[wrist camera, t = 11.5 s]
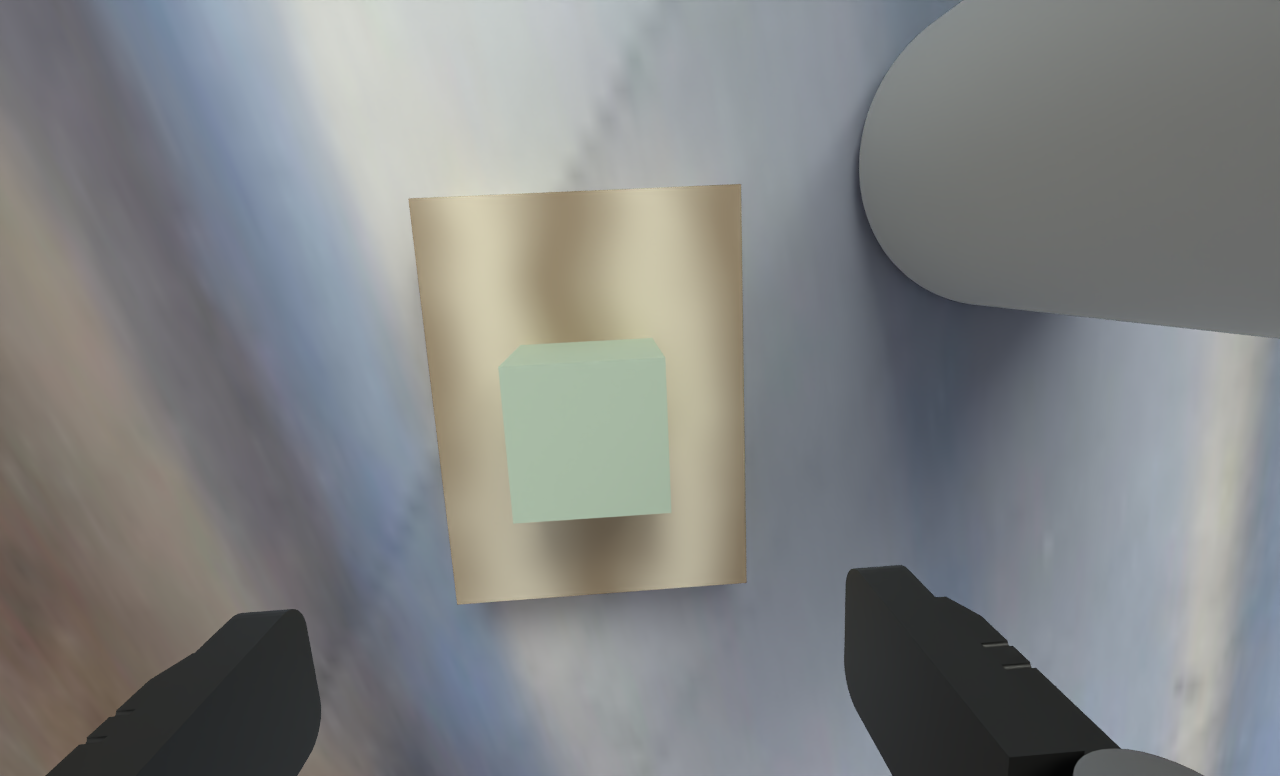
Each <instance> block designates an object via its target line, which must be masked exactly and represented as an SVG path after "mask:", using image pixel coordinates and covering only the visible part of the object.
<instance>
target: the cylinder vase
mask: <svg viewBox="0 0 1280 776" xmlns="http://www.w3.org/2000/svg"><path fill="white" fill-rule="evenodd" d="M859 179H860V189H861V195H862V200H863V205H864V209H865V212H866V215H867V218H868V221H869V224H870V226H871V229H872V231H873V233H874V235H875V237H876V239H877V241H878V242H879V244H880V246H881V247H882V249H883V250H884V252H885V253H886V254H887V256H888V257H889V258H890V260H891V261H892V262H893V263H894V264H895V265H896V266H897V267H898V268H899V269H900V270H901V271H902V272H903V273H904V274H905V275H906V276H907V277H909V278H910V279H911V280H912V281H914V282H915V283H917V284H918V285H920V286H921V287H923V288H925V289H926V290H928V291H930V292H932V293H934V294H936V295H939V296H941V297H944V298H947V299H950V300H953V301H957V302H961V303H966V304H973V305H981V306H990V307H999V308H1008V309H1017V310H1026V311H1035V312H1044V313H1053V314H1062V315H1071V316H1080V317H1089V318H1098V319H1107V320H1116V321H1125V322H1134V323H1143V324H1152V325H1161V326H1170V327H1179V328H1188V329H1197V330H1206V331H1215V332H1224V333H1233V334H1242V335H1251V336H1260V337H1269V338H1278V339H1280V0H963V1H962V2H960V3H959V4H958V5H956V6H955V7H953V8H952V9H951V10H949V11H948V12H947V13H945V14H944V15H943V16H941V17H940V18H938V19H937V20H936V21H934V22H933V23H932V24H930V25H929V26H928V27H927V28H925V29H924V30H923V31H922V32H921V33H920V34H919V35H917V36H916V37H915V38H914V39H913V40H912V41H911V42H910V44H909V45H908V46H907V47H906V48H905V49H904V50H903V51H902V53H901V54H900V55H899V56H898V58H897V59H896V60H895V62H894V63H893V64H892V66H891V67H890V69H889V70H888V72H887V73H886V75H885V77H884V78H883V80H882V82H881V84H880V86H879V88H878V90H877V92H876V94H875V96H874V99H873V101H872V103H871V106H870V109H869V112H868V115H867V118H866V121H865V125H864V129H863V134H862V139H861V146H860V156H859Z"/></svg>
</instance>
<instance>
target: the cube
mask: <svg viewBox="0 0 1280 776" xmlns="http://www.w3.org/2000/svg"><path fill="white" fill-rule="evenodd" d="M498 370H499V380H500V391H501V401H502V412H503V422H504V433H505V443H506V453H507V464H508V474H509V485H510V495H511V506H512V516H513V524H515V523H530V522H545V521H559V520H574V519H589V518H603V517H618V516H633V515H647V514H662V513H671V490H670V464H669V439H668V413H667V387H666V362H665V356H664V355H663V353H662V352H661V350H660V349H659V347H658V346H657V344H656V343H655V341H654V340H653V338H641V339H622V340H604V341H585V342H567V343H548V344H530V345H520V346H519V347H518V348H517V349H516V350H515V351H514V352H513V353H512V354H511V355H510V356H509V357H508V358H507V359H506V360H505V361H504V362H503V363H502V364H501V365H500V366H499V367H498Z"/></svg>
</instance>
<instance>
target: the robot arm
mask: <svg viewBox="0 0 1280 776" xmlns="http://www.w3.org/2000/svg"><path fill="white" fill-rule="evenodd" d="M844 666H845V675H846V681H847V685H848V689H849V693H850V696H851V699H852V702H853V704H854V707H855V709H856V711H857V712H858V714H859V716H860V718H861V720H862V721H863V723H864V725H865V727H866V729H867V730H868V732H869V734H870V736H871V738H872V739H873V741H874V743H875V745H876V747H877V748H878V750H879V752H880V754H881V756H882V757H883V759H884V761H885V763H886V765H887V766H888V768H889V770H890V772H891V774H892V776H1203V775H1201V774H1200V773H1198V772H1196V771H1194V770H1192V769H1190V768H1187V767H1185V766H1183V765H1181V764H1178V763H1176V762H1173V761H1171V760H1168V759H1165V758H1162V757H1160V756H1156V755H1152V754H1149V753H1145V752H1140V751H1134V750H1129V749H1121V748H1120V747H1119V746H1118V745H1117V744H1115V743H1114V742H1113V741H1112V740H1111V739H1110V738H1109V737H1108V736H1107V735H1106V734H1105V733H1104V732H1103V731H1102V730H1101V729H1100V728H1099V727H1098V726H1097V725H1095V724H1094V723H1093V722H1092V721H1091V720H1090V719H1089V718H1088V717H1087V716H1086V715H1085V714H1084V713H1083V712H1082V711H1081V710H1080V709H1079V708H1078V707H1077V706H1075V705H1074V704H1073V703H1072V702H1071V701H1070V700H1069V699H1068V698H1067V697H1066V696H1065V695H1064V694H1063V693H1062V692H1061V691H1060V690H1059V689H1058V688H1057V687H1055V686H1054V685H1053V684H1052V683H1051V682H1050V681H1049V680H1048V679H1047V678H1046V677H1045V676H1044V675H1043V674H1042V673H1041V672H1040V671H1039V670H1038V669H1037V668H1031V665H1030V662H1029V661H1028V660H1027V659H1026V658H1025V657H1024V656H1023V655H1022V654H1021V653H1020V652H1019V651H1018V650H1017V649H1016V648H1014V647H1013V646H1009V645H1008V641H1007V640H1006V639H1005V638H1004V637H1003V636H1002V635H1001V634H1000V633H999V632H998V631H997V630H996V629H994V628H993V627H992V626H991V625H990V624H989V623H988V622H987V621H986V620H985V619H984V618H983V617H982V616H980V615H978V614H977V613H975V612H973V611H971V610H969V609H967V608H966V607H964V606H962V605H960V604H958V603H956V602H955V601H953V600H951V599H949V598H947V597H935V596H934V595H933V594H932V593H931V592H930V591H929V590H928V589H927V588H926V587H925V586H924V585H923V584H922V583H921V582H920V581H919V580H918V579H917V578H916V577H915V576H914V575H913V574H912V573H911V572H910V571H909V570H908V569H907V568H906V567H904V566H902V565H895V566H881V567H868V568H854V569H851V570H850V571H849V572H848V575H847V579H846V597H845V647H844ZM320 720H321V702H320V696H319V691H318V685H317V680H316V674H315V669H314V664H313V658H312V653H311V647H310V642H309V636H308V631H307V626H306V622H305V619H304V617H303V615H302V614H301V613H300V612H299V611H298V610H295V609H289V610H276V611H262V612H249V613H240V614H237V615H235V616H234V617H232V618H231V619H230V620H229V621H228V622H227V623H226V624H225V625H224V626H223V627H222V628H221V629H219V630H218V631H217V632H216V633H215V634H214V635H213V636H212V637H211V638H210V639H209V640H208V641H207V642H206V643H205V644H204V645H203V646H202V647H201V648H200V649H198V650H197V651H196V652H195V653H193V654H191V655H190V656H188V657H186V658H185V659H183V660H181V661H180V662H178V663H177V664H175V665H173V666H172V667H170V668H168V669H167V670H165V671H164V672H162V673H160V674H159V675H157V676H155V677H154V678H152V679H151V680H149V681H148V682H147V683H146V684H145V685H144V686H143V687H142V688H141V689H139V690H138V691H137V692H136V693H135V694H134V695H133V696H132V697H131V698H130V699H129V700H127V701H126V702H125V703H124V704H123V705H122V706H121V707H120V708H119V709H118V710H117V711H116V715H115V717H109V718H108V719H107V720H106V721H105V722H103V723H102V724H101V725H100V726H99V727H98V728H97V729H96V730H95V731H94V732H93V733H91V734H90V735H89V736H88V737H87V742H86V744H82V745H78V746H77V747H76V748H75V749H74V750H73V751H72V752H71V753H70V754H69V755H68V756H66V757H65V758H64V759H63V760H62V761H61V762H60V763H59V764H58V765H57V766H56V767H54V768H53V769H52V770H51V771H50V772H49V773H48V774H47V775H46V776H297V775H298V774H299V772H300V770H301V769H302V767H303V765H304V764H305V762H306V760H307V759H308V757H309V755H310V753H311V752H312V750H313V747H314V745H315V742H316V739H317V736H318V732H319V727H320Z"/></svg>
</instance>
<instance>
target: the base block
mask: <svg viewBox="0 0 1280 776" xmlns="http://www.w3.org/2000/svg"><path fill="white" fill-rule="evenodd" d="M409 207H410V216H411V224H412V232H413V240H414V249H415V257H416V265H417V274H418V282H419V290H420V299H421V307H422V315H423V324H424V332H425V340H426V348H427V357H428V365H429V373H430V382H431V390H432V398H433V407H434V415H435V423H436V432H437V440H438V448H439V456H440V465H441V473H442V481H443V490H444V498H445V506H446V515H447V523H448V531H449V540H450V548H451V556H452V565H453V573H454V581H455V589H456V598H457V605H458V604H471V603H485V602H498V601H511V600H525V599H538V598H551V597H564V596H578V595H591V594H604V593H618V592H631V591H644V590H658V589H671V588H684V587H697V586H711V585H724V584H737V583H746V513H745V441H744V370H743V298H742V227H741V184H732V185H709V186H687V187H664V188H641V189H618V190H595V191H572V192H549V193H526V194H503V195H480V196H457V197H434V198H411V199H409ZM641 338H653V340H654V341H655V343H656V344H657V346H658V347H659V349H660V350H661V352H662V353H663V355H664V356H665V362H666V387H667V413H668V439H669V464H670V490H671V513H662V514H647V515H633V516H618V517H603V518H589V519H574V520H559V521H545V522H530V523H515V524H513V516H512V506H511V495H510V485H509V474H508V464H507V453H506V443H505V433H504V422H503V412H502V401H501V391H500V380H499V370H498V367H499V366H500V365H501V364H502V363H503V362H504V361H505V360H506V359H507V358H508V357H509V356H510V355H511V354H512V353H513V352H514V351H515V350H516V349H517V348H518V347H519V346H520V345H530V344H548V343H567V342H585V341H604V340H622V339H641Z"/></svg>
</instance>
